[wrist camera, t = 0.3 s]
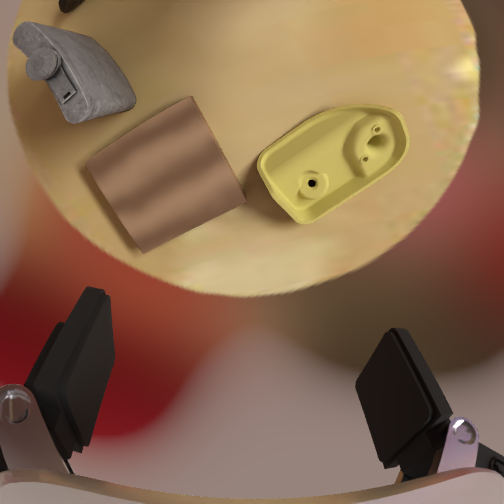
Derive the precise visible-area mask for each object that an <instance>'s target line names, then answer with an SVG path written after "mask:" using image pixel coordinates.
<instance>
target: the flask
mask: <svg viewBox="0 0 504 504" xmlns="http://www.w3.org/2000/svg"><path fill="white" fill-rule="evenodd" d="M13 43H14V45H15V46H16V47H17V48H18V49H20V50H21V51H22V52H23V53H24V54H25V55H26V56H27V57H28V60H27V63H26V73H27V75H28V77H29V78H30V79H32V80H35V81H36V80H37V81H38V80H45V81H46V83H47V84H48V86H49V88H50V89H51V91H52V93H53V95H54V96H55V98H56V100H57V102H58V104H59V106H60V108H61V111H62V113H63V115H64V117H65V119H66V120H67V121H68V122H70V123H73V124H76V123H80V122H83V121H87V120H91V119H95V118H99V117H103V116H107V115H111V114H115V113H119V112H124V111H128V110H131V109H132V108H133V107H134V106H135V104H136V96H135V94H134V92H133V90H132V88H131V86H130V84H129V82H128V80H127V78H126V77H125V75H124V74H123V72H122V71H121V69H120V68H119V66H118V65H117V64H116V62H115V61H114V60H113V59H112V57H111V56H110V55H109V54H108V53H107V52H106V51H105V50H104V48H102V47H101V46H100V45H99V44H98V43H97V42H96V41H95V40H93V39H92V38H91V37H88V36H85V35H81V34H78V33H74V32H71V31H67V30H63V29H59V28H55V27H51V26H47V25H42V24H38V23H33V22H29V21H26V22H23V23H21V24H20V25H19V26H18V27H17V28H16V30H15V32H14V35H13Z"/></svg>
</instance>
